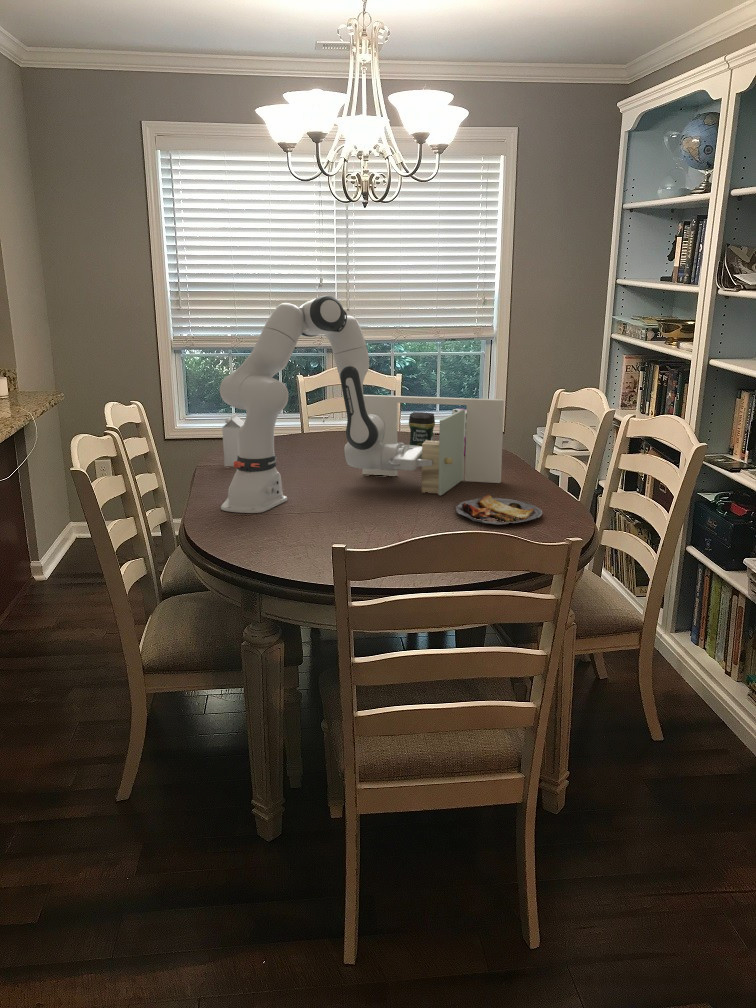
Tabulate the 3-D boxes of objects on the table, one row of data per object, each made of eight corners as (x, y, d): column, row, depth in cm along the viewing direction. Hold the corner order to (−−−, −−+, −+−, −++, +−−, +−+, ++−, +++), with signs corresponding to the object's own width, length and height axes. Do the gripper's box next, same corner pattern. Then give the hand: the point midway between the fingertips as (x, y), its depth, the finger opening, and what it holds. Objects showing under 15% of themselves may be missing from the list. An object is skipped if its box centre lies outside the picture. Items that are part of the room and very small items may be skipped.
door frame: (500, 483, 272) (503, 400, 264) (362, 475, 283) (361, 395, 275) (500, 481, 274) (504, 399, 266) (364, 473, 285) (363, 394, 277)
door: (468, 479, 274) (470, 409, 268) (447, 496, 255) (448, 421, 248) (460, 478, 275) (462, 409, 269) (438, 495, 256) (439, 420, 249)
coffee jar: (405, 463, 300) (406, 413, 295) (411, 458, 308) (411, 410, 302) (431, 464, 298) (431, 414, 292) (436, 460, 305) (437, 411, 300)
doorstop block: (438, 493, 260) (439, 444, 256) (421, 492, 261) (422, 443, 257) (441, 488, 265) (442, 441, 261) (424, 487, 266) (425, 440, 262)
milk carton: (248, 463, 300) (245, 413, 295) (243, 468, 294) (240, 416, 288) (229, 463, 301) (226, 412, 296) (224, 467, 294) (221, 416, 289)
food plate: (439, 513, 239) (439, 501, 238) (492, 499, 253) (493, 488, 252) (503, 535, 221) (503, 523, 220) (556, 519, 235) (557, 508, 234)
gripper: (385, 454, 253) (429, 456, 250) (399, 441, 272) (440, 443, 269) (385, 474, 255) (428, 476, 251) (399, 459, 274) (440, 461, 270)
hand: (435, 459), depth 260 cm, fingers open, 8 cm apart
